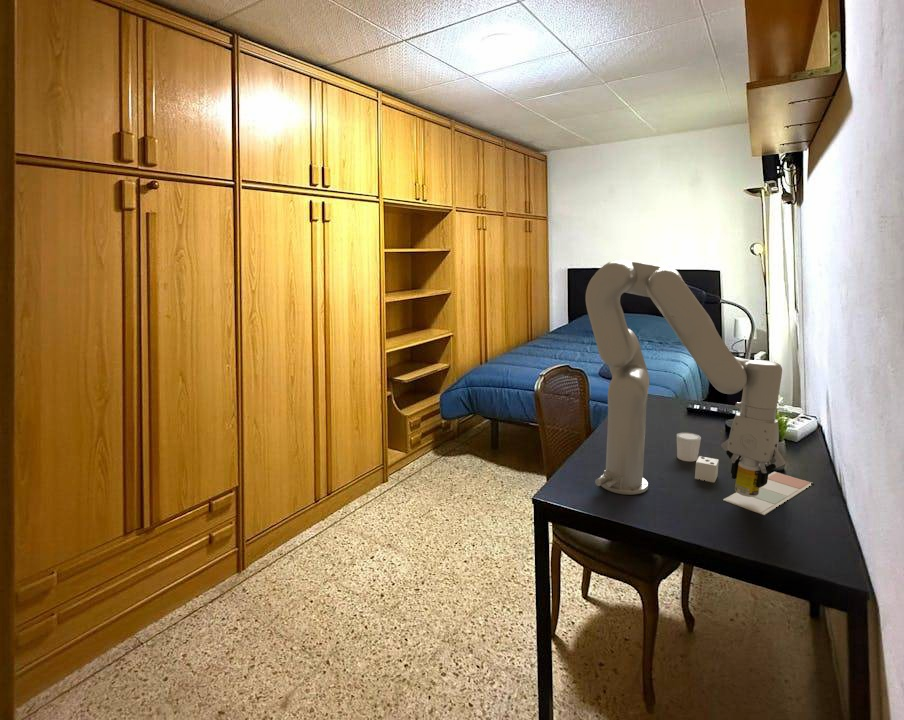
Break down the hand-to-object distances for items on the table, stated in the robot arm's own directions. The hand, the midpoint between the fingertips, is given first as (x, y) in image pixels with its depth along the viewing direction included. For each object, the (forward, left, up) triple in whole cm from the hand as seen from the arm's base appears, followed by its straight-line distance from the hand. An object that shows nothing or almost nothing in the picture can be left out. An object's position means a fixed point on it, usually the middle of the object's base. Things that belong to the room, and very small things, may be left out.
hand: (748, 481), depth 136 cm
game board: (+11, -1, -6) cm, 12 cm away
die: (+7, +14, -6) cm, 17 cm away
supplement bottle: (0, 0, -3) cm, 3 cm away
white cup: (+16, +25, -6) cm, 31 cm away
